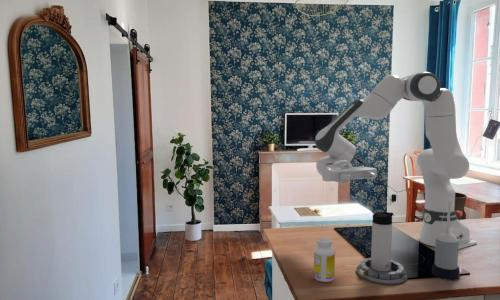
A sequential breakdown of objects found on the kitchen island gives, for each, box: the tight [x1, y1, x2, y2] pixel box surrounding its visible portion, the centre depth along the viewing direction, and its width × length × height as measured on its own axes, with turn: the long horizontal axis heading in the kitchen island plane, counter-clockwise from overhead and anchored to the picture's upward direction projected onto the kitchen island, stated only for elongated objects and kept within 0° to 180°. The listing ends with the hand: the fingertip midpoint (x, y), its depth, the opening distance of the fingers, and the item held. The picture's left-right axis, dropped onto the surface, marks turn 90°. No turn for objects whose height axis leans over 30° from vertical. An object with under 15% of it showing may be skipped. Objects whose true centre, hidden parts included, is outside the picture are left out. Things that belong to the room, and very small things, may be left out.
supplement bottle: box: [313, 237, 336, 283], centre depth 121 cm, size 7×7×13 cm
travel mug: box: [370, 211, 395, 272], centre depth 124 cm, size 6×7×20 cm
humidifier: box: [431, 201, 462, 281], centre depth 123 cm, size 8×8×25 cm
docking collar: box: [356, 257, 408, 286], centre depth 125 cm, size 16×16×3 cm
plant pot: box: [454, 191, 468, 222], centre depth 175 cm, size 15×15×16 cm
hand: (362, 177), depth 134 cm, fingers open, 8 cm apart
